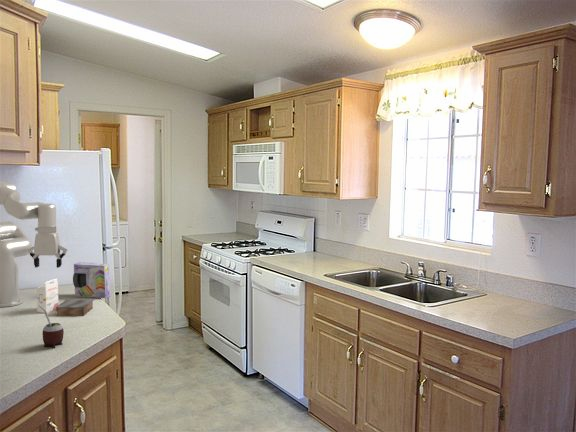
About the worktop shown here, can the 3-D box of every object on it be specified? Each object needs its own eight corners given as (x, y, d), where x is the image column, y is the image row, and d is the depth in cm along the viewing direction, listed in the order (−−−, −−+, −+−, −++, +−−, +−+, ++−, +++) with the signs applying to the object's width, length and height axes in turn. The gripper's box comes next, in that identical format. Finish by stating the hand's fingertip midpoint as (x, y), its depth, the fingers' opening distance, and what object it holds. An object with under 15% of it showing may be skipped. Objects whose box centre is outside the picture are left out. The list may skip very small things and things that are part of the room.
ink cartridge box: (49, 307, 225) (49, 277, 223) (58, 308, 224) (58, 277, 222) (36, 312, 216) (36, 281, 215) (46, 313, 215) (45, 281, 214)
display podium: (55, 315, 212) (55, 307, 212) (66, 307, 225) (66, 299, 224) (84, 316, 213) (84, 307, 213) (93, 308, 226) (93, 300, 225)
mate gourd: (64, 347, 176) (64, 307, 175) (41, 350, 172) (40, 310, 170) (62, 340, 182) (61, 302, 181) (39, 344, 178) (38, 305, 176)
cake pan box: (72, 296, 246) (72, 262, 244) (78, 293, 251) (78, 261, 249) (104, 299, 242) (104, 265, 240) (110, 297, 247) (110, 263, 245)
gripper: (23, 231, 212) (24, 268, 214) (63, 231, 213) (64, 268, 215) (31, 229, 220) (32, 265, 221) (69, 229, 221) (70, 265, 222)
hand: (47, 267), depth 218 cm, fingers open, 9 cm apart
